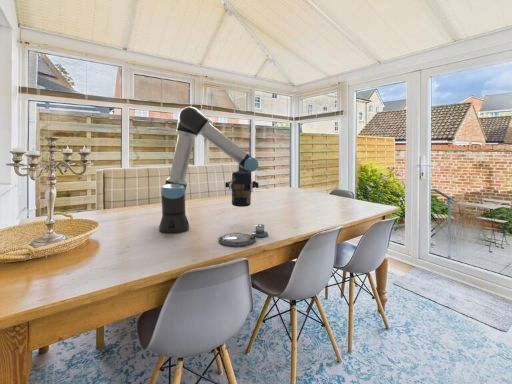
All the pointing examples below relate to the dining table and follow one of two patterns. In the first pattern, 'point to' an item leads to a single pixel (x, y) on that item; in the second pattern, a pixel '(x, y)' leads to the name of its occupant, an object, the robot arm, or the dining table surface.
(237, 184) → the canister
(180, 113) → the robot arm
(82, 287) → the dining table surface
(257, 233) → the flange small
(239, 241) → the flange wide
